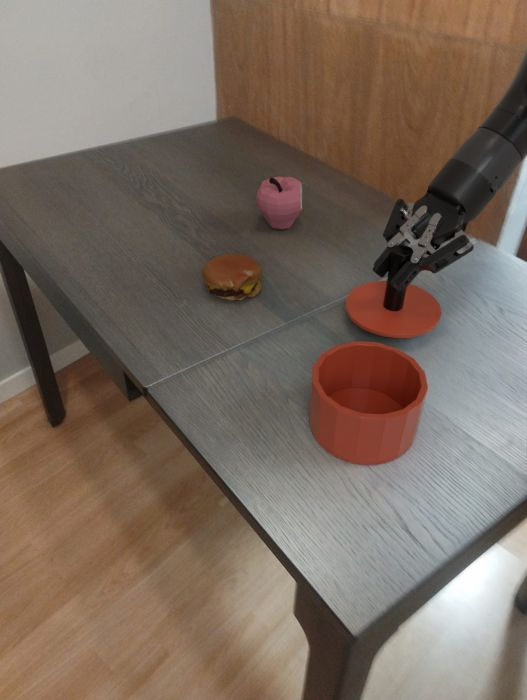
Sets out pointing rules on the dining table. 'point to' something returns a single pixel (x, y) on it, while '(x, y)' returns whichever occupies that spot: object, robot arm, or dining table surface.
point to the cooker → (366, 402)
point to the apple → (280, 201)
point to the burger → (232, 277)
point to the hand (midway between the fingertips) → (385, 280)
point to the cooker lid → (393, 304)
